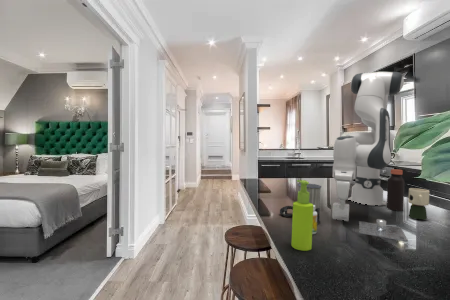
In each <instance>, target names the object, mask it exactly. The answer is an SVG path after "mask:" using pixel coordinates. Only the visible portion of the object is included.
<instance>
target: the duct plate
mask: <svg viewBox="0 0 450 300" xmlns="http://www.w3.org/2000/svg"><path fill="white" fill-rule="evenodd" d="M358 224H359V226H358V228H359V234H363V235H368V236H374V237H379V238H386V239H390V240H397V241H403V242H409V239H408V238H407V236H406V234H405V233H404V232H405V231H404V230H403V229H402V227H399V226H392V225H387V220H386V219H381V218H377V219H376V223H373V222H367V221H360V220H359V221H358Z"/></svg>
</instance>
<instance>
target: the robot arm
mask: <svg viewBox="0 0 450 300" xmlns="http://www.w3.org/2000/svg"><path fill="white" fill-rule="evenodd" d="M404 83H405V80H404V75H403V74H402V72H397V71H375V72H373V71H372V72H366V73H365V72H364V73H363V72H361V73H356V74H355V75H353V77H352V80H350V90H351V92H352V94H354V95H356V98H355V101H354V112H355V114H356V115H357V116H358V117H359V118H361V119H360V120H361V121H360V122H362V124H364V125H365V126H366V127H369V128H370V129H371V132H368V131H367V132H366V131H364V132H363V131H360V132H359V131H357V132H350V133H349V132H348V133H347V134H346V135H343V136H338V137H336V138H335V141H334V144H333V152H332V153H333V155H332V156H333V165H332V178H333V179H334V180H335V185H336V186H335V187H336V188H335V189H336V197H337V199H338V200H339V203H340V209H345V204H346V200H347V201H348V200H351V201H350V202H353V201H354V202H353V203H355V202H357V203H356V204H359V203H361V204H360V205H365V204H367V205H366V206H375V205H378V206H387V201H386V202H385V201H384V188H382V187H381V177H380V173H381V170H383V169H384V168H386V167H387V166H389V165H390V163H391V162H392V152H393V151H394V150H393V140H394V138H395V137H396V136H395V134H393V133H392V132H391V120H390V113H389V111H388V104H389V103H388V102H389V100H388V99H389V98H391V97H392V96H394V95H395V96H396V95H397V94H398V93H400V92H401V90H402V88H403V87H404V85H405V84H404ZM353 180H355V181H354V182H355V183H354V185H352V187H351V184H352V183H353ZM350 187H351V194H350V195H351V196H350V197H349V192H350Z"/></svg>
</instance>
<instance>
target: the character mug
mask: <svg viewBox="0 0 450 300" xmlns="http://www.w3.org/2000/svg"><path fill="white" fill-rule="evenodd" d="M407 199H408V200H407V201H408V203H409V204H411V205H410V208H409V212H408V217H409V218H410V219H414V220H416V219H417V220H418V221H419V220H427V219H428V218H427V217H428V216H427V215H428V213H427V208H426V206H429V204H430V190H429V189H424V188H418V187H417V188H416V187H415V188H414V187H410V188H408V198H407Z"/></svg>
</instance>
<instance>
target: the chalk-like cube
mask: <svg viewBox="0 0 450 300" xmlns="http://www.w3.org/2000/svg"><path fill="white" fill-rule="evenodd" d="M349 218H350V204H349V203H345V209H340V202H333V204H332V212H331V219H332V220H336V219H337V220H338V221H342V220H344V222H349Z"/></svg>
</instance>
